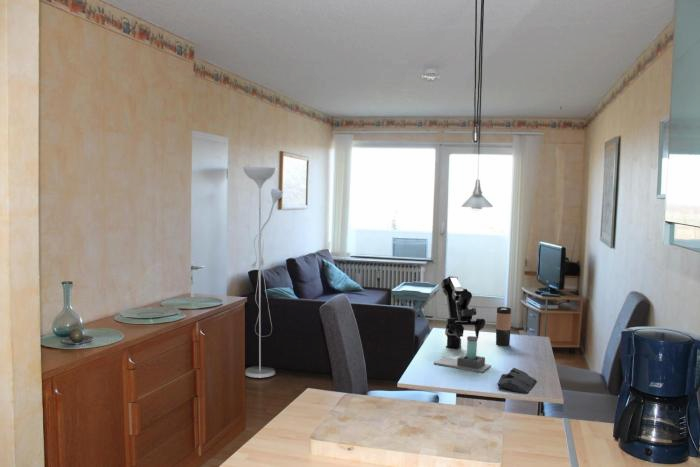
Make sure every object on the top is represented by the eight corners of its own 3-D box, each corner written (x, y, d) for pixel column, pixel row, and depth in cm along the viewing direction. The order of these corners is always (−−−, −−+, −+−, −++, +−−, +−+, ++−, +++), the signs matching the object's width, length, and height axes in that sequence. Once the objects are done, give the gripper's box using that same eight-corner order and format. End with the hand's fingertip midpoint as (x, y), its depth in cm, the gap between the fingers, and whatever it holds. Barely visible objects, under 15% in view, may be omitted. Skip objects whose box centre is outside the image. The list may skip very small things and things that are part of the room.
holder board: (433, 364, 277) (434, 355, 277) (443, 358, 287) (443, 350, 287) (482, 372, 265) (483, 364, 265) (490, 366, 275) (491, 358, 275)
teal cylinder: (463, 363, 276) (465, 336, 275) (471, 362, 278) (472, 335, 277) (471, 366, 272) (472, 339, 271) (478, 365, 274) (479, 338, 273)
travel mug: (508, 343, 322) (510, 307, 321) (511, 346, 314) (512, 309, 313) (494, 342, 323) (495, 306, 321) (496, 345, 315) (498, 309, 314)
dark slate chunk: (491, 389, 243) (491, 378, 243) (503, 375, 263) (503, 365, 262) (528, 395, 236) (529, 384, 236) (538, 381, 256) (538, 370, 255)
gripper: (447, 301, 285) (452, 329, 274) (485, 302, 286) (491, 329, 276) (443, 314, 293) (447, 341, 283) (479, 314, 294) (485, 341, 284)
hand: (468, 338), depth 281 cm, fingers open, 9 cm apart
